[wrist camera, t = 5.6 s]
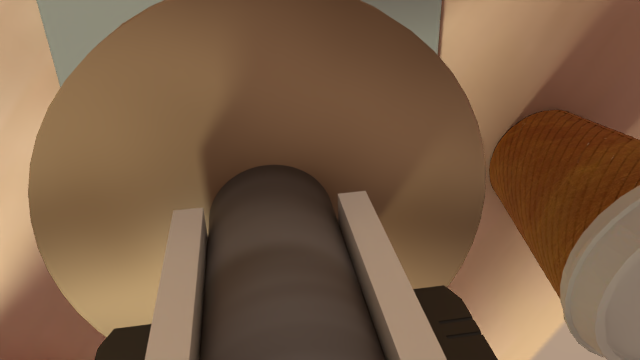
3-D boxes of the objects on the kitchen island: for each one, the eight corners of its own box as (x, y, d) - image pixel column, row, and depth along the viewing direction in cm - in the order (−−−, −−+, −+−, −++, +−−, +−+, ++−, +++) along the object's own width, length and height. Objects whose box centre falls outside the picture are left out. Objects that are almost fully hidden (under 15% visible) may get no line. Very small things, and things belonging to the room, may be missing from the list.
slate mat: (421, 216, 31) (424, 221, 31) (109, 250, 29) (107, 256, 29) (447, -136, 23) (452, -136, 22) (8, -124, 21) (2, -124, 20)
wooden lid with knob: (455, 333, 20) (605, 612, 12) (100, 384, 18) (1, 743, 10) (494, -36, 14) (847, 33, 6) (-28, -5, 12) (-492, 144, 4)
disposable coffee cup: (612, 55, 28) (838, 146, 18) (621, 195, 33) (804, 334, 22) (446, 119, 28) (570, 246, 18) (478, 249, 33) (592, 411, 23)
